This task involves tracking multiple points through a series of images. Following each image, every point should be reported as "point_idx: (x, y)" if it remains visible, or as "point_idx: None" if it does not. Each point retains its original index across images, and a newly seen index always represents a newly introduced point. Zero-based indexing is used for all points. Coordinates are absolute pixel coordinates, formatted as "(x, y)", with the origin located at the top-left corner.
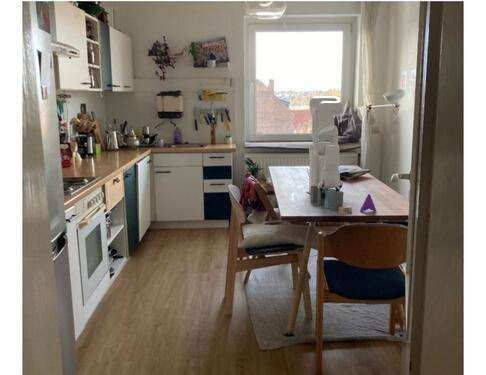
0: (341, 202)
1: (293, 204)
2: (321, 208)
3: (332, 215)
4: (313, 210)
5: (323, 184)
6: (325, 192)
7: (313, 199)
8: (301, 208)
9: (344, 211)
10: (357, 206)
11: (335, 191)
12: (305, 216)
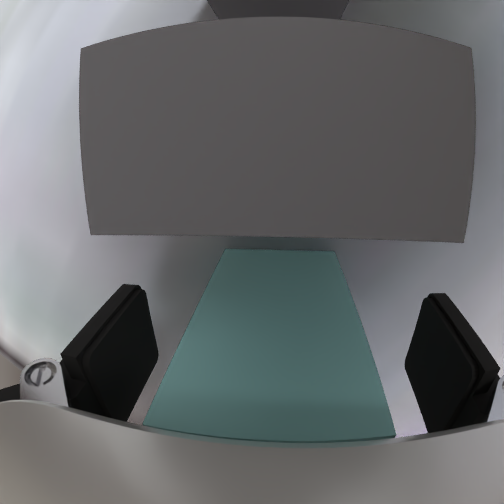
0: None
1: (30, 30)
2: (166, 270)
3: None
4: (72, 288)
5: (39, 496)
6: (167, 383)
7: (215, 4)
8: (17, 184)
9: None
10: (495, 351)
11: (453, 372)
12: (9, 356)
